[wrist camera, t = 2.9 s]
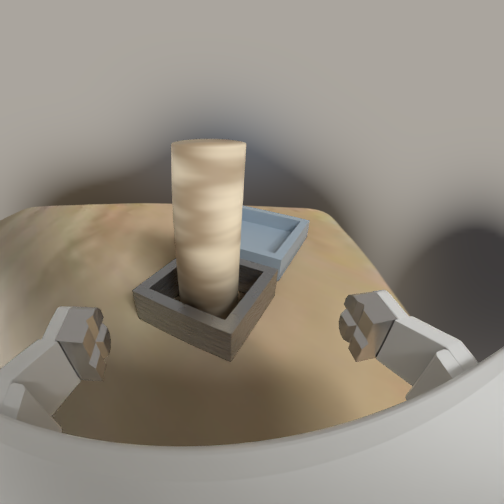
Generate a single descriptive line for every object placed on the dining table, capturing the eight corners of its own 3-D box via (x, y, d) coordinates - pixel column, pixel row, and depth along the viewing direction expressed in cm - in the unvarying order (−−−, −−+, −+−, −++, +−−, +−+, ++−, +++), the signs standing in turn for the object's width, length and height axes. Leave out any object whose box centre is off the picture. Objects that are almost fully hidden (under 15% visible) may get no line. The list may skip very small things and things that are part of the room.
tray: (183, 251, 32) (182, 232, 31) (230, 218, 42) (231, 203, 41) (278, 280, 28) (281, 260, 27) (306, 237, 38) (309, 220, 37)
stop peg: (170, 313, 23) (155, 145, 16) (200, 284, 27) (199, 137, 20) (219, 335, 21) (222, 149, 14) (246, 301, 25) (258, 142, 18)
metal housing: (138, 318, 22) (132, 290, 20) (195, 269, 29) (194, 244, 28) (230, 361, 19) (231, 334, 17) (274, 295, 26) (278, 269, 25)
